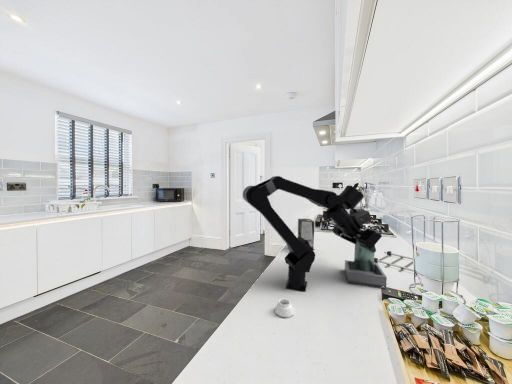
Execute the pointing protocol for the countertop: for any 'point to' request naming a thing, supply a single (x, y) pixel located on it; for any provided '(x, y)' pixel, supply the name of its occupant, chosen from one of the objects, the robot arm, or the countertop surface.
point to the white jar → (284, 308)
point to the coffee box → (306, 230)
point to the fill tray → (365, 276)
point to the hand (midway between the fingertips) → (367, 248)
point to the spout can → (363, 256)
